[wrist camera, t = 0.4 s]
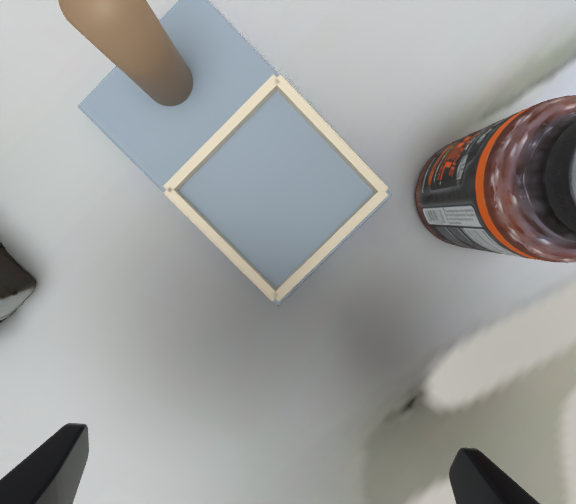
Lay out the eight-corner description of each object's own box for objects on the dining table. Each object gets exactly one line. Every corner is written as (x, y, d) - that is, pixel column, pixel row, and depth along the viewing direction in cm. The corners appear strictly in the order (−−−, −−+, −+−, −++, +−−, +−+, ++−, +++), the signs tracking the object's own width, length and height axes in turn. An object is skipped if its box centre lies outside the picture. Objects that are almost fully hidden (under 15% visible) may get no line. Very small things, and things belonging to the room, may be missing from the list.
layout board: (387, 195, 22) (457, 179, 13) (277, 302, 23) (273, 356, 14) (197, -4, 21) (134, -167, 12) (86, 111, 22) (-53, 35, 13)
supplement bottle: (457, 118, 22) (640, 11, 11) (538, 185, 22) (797, 149, 11) (390, 203, 22) (498, 187, 11) (470, 268, 23) (654, 315, 11)
